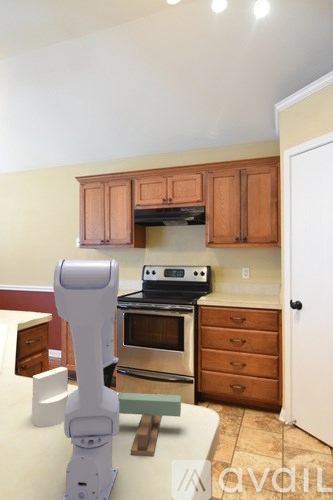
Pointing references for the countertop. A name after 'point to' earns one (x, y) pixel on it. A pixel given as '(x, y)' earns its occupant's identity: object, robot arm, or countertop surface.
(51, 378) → the base with upright slab
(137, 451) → the stand
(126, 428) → the countertop surface
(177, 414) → the pale green bar
